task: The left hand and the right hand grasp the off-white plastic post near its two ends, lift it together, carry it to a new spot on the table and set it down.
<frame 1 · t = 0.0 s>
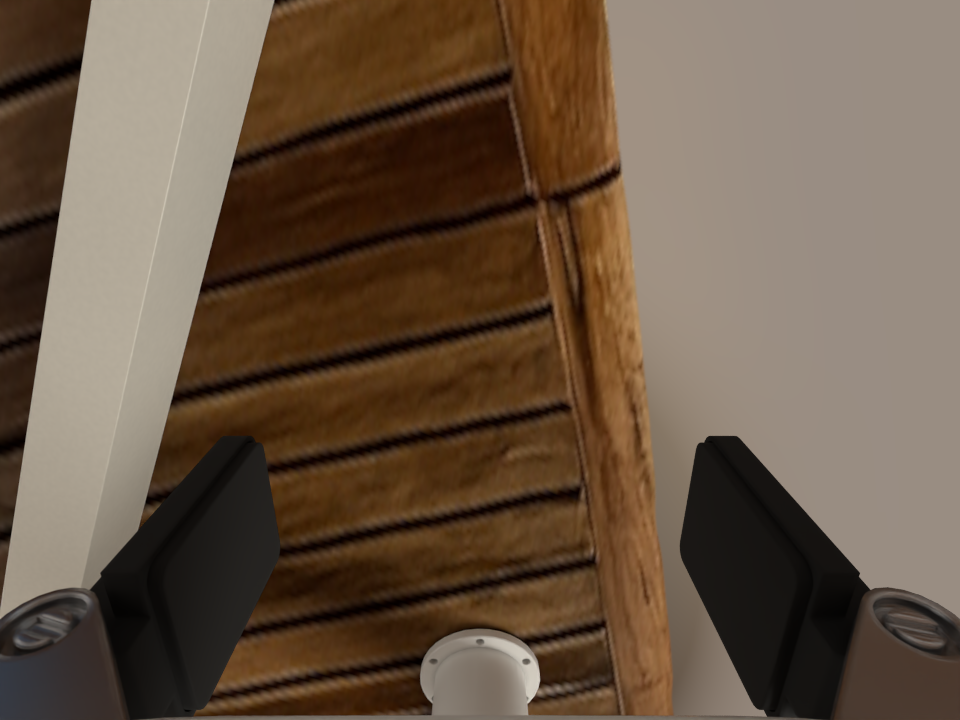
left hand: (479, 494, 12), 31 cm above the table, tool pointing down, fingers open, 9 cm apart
post: (152, 325, 43), on the table
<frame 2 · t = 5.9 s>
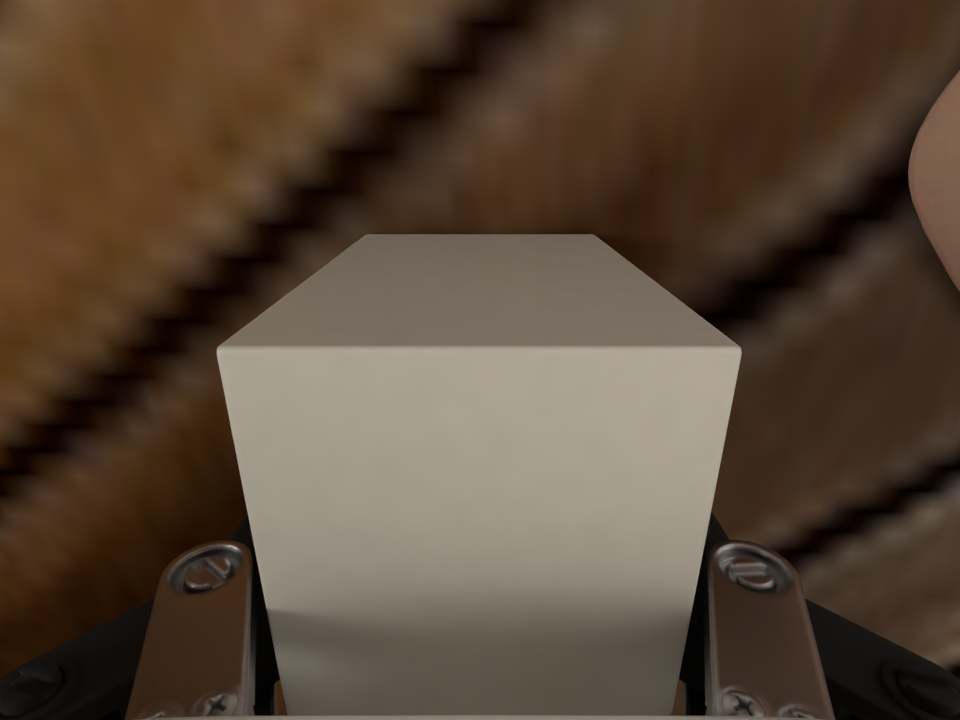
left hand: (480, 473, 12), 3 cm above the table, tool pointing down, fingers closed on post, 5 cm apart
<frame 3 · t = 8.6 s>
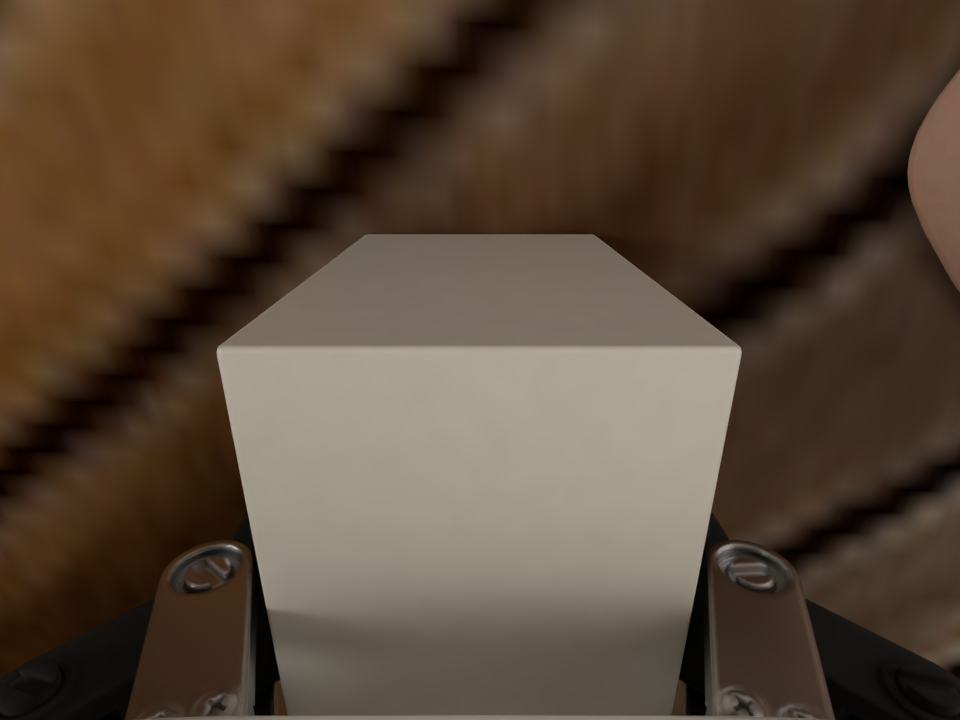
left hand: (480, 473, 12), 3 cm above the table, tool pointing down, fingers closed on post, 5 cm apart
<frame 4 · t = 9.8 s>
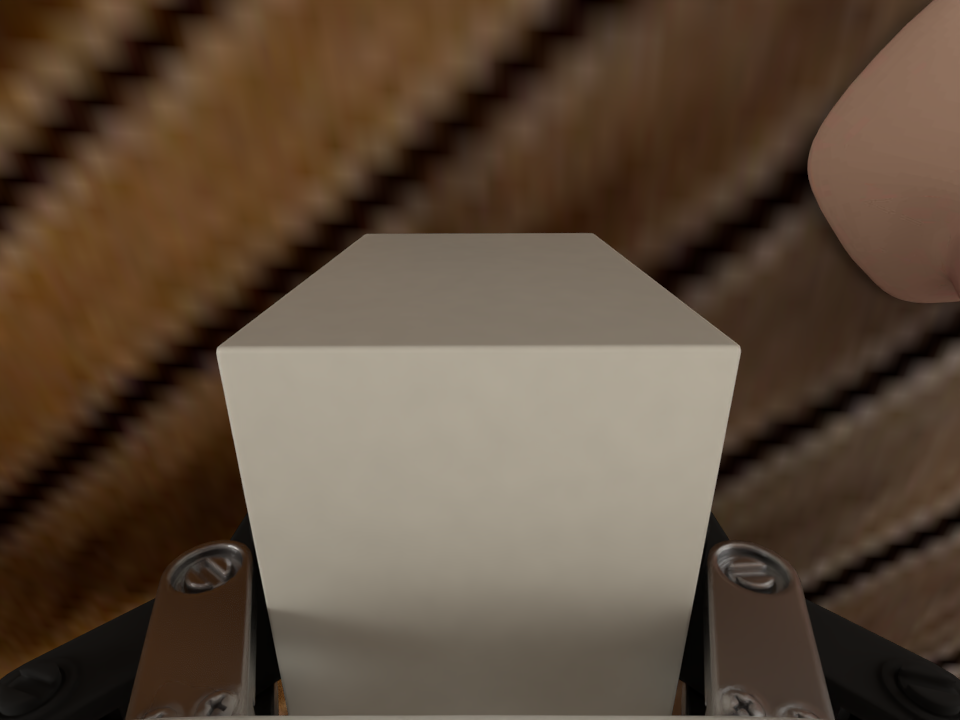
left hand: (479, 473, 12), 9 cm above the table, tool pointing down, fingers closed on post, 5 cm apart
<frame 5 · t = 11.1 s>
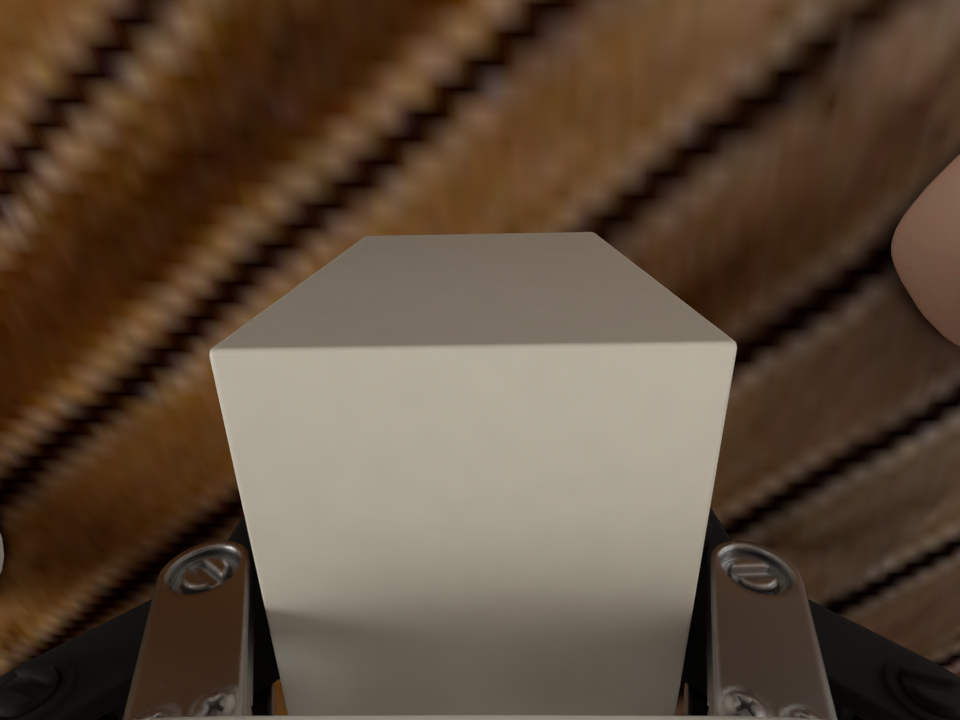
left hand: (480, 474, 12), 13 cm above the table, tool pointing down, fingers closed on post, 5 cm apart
when the right hand's fingers open (2 cm above the table, at t = 13.6 s): post drops 1 cm, on the table.
when the left hand's fingers open (4 cm above the table, at t = 13.7 s): post stays where it is, on the table.
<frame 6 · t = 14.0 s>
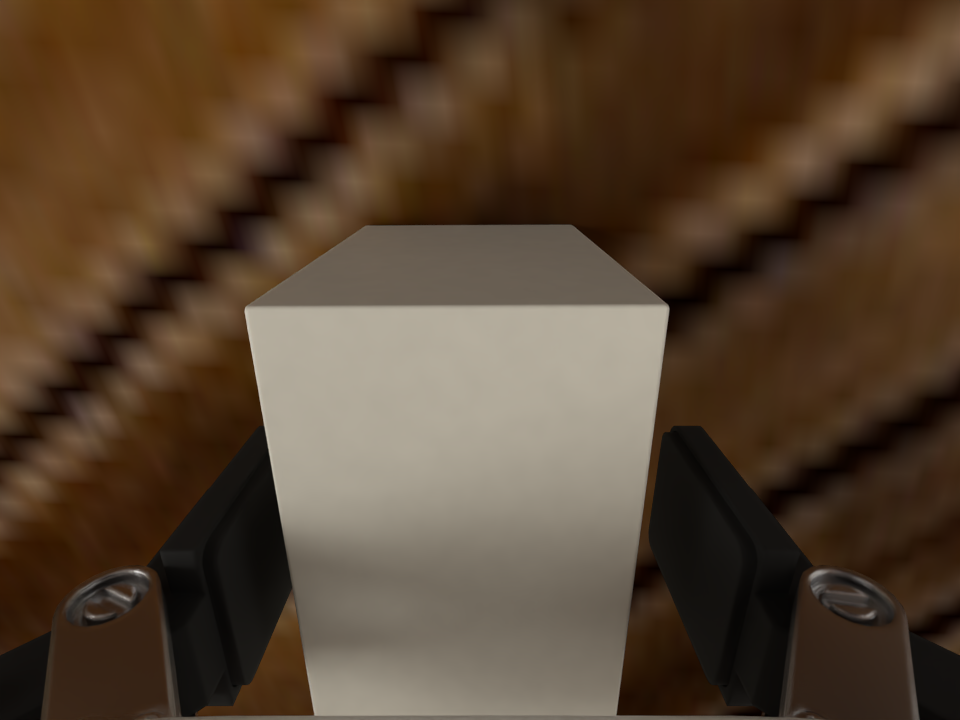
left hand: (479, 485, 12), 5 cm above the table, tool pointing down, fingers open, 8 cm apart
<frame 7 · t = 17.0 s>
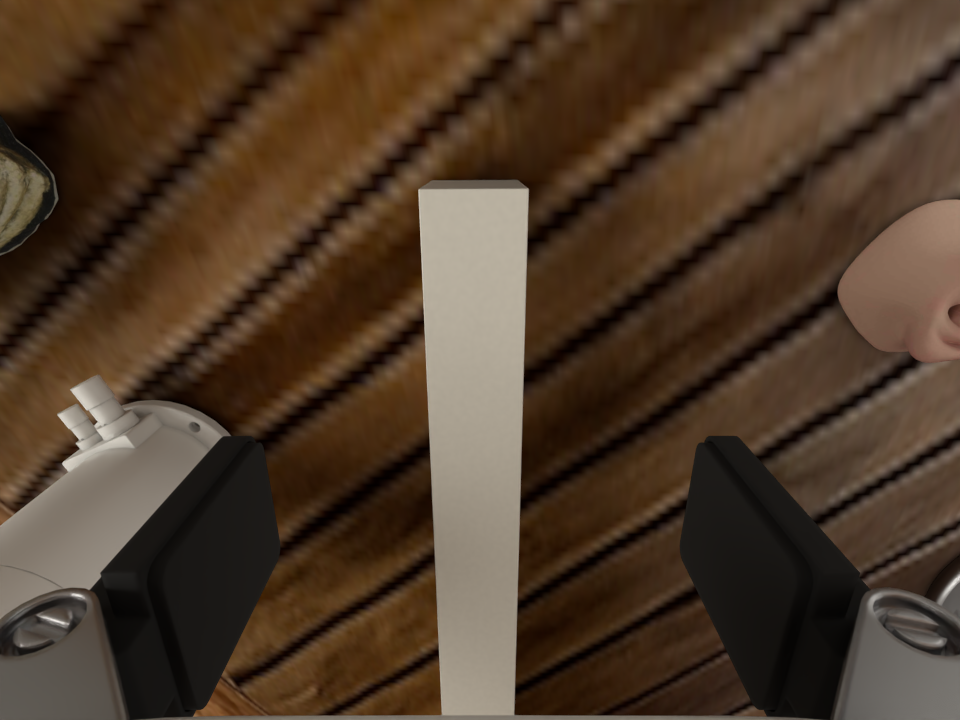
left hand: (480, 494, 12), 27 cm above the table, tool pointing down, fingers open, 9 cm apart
post: (478, 617, 49), on the table
anatomical model: (937, 280, 37), on the table
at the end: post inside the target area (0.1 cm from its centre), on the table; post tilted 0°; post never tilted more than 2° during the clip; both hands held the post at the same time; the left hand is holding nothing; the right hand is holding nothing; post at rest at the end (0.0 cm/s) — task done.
